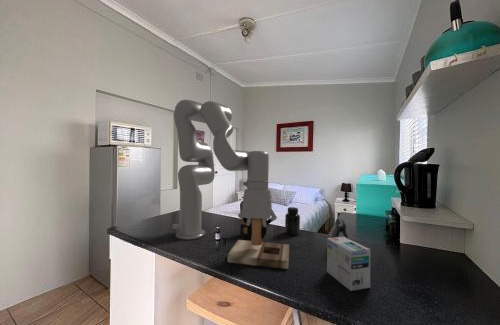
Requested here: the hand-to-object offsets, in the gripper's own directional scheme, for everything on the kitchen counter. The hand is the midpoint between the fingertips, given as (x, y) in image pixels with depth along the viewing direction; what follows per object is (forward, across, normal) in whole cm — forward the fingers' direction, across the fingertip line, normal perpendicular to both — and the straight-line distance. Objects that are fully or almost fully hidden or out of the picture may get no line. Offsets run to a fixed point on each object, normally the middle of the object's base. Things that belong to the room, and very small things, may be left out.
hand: (256, 236), depth 78 cm
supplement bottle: (+7, +12, +28) cm, 32 cm away
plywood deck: (+7, +1, 0) cm, 7 cm away
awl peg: (+2, 0, 0) cm, 2 cm away
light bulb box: (+7, +28, -9) cm, 31 cm away
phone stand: (+7, +30, +11) cm, 33 cm away
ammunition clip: (+7, -6, +19) cm, 21 cm away
